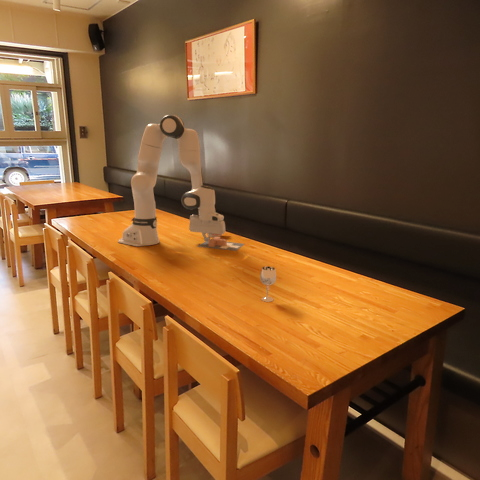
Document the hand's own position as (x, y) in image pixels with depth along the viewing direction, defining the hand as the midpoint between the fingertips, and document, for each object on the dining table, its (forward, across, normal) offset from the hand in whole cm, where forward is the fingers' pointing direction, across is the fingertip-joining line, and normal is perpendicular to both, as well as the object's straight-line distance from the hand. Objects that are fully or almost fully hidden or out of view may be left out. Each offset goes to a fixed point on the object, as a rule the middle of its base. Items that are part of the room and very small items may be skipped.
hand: (207, 240), depth 216 cm
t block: (+2, +7, 0) cm, 7 cm away
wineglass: (+2, +50, -61) cm, 79 cm away
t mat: (+2, +8, 0) cm, 9 cm away
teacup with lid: (+2, -3, +20) cm, 20 cm away
